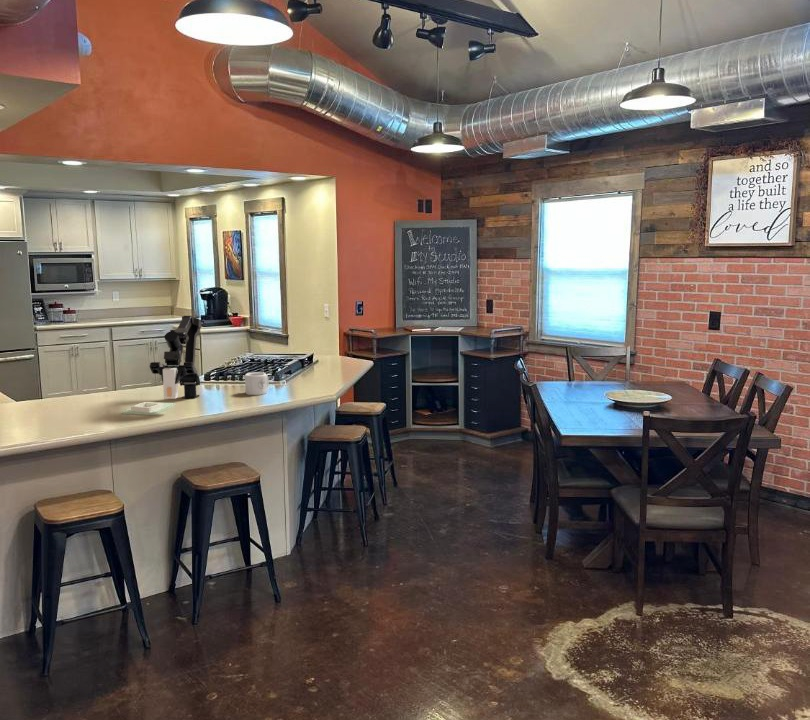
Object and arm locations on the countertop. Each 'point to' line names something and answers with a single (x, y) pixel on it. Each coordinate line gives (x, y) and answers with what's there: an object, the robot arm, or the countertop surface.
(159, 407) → the white square frame
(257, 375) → the mug
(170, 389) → the plug
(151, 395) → the countertop surface
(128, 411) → the board
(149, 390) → the countertop surface
